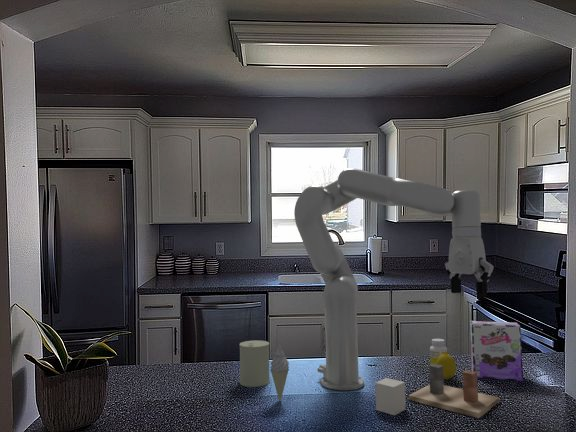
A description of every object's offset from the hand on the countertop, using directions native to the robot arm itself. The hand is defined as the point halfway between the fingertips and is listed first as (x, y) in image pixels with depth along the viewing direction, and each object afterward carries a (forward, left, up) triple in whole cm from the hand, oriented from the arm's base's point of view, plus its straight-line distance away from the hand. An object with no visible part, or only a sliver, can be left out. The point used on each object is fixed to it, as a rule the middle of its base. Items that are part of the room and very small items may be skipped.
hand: (468, 294), depth 121 cm
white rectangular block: (-10, -27, -27) cm, 39 cm away
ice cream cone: (-35, -41, -27) cm, 60 cm away
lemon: (-10, +5, -27) cm, 29 cm away
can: (-52, -35, -27) cm, 68 cm away
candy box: (0, +18, -27) cm, 32 cm away
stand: (-1, -11, -27) cm, 29 cm away
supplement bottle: (-16, +13, -27) cm, 34 cm away
